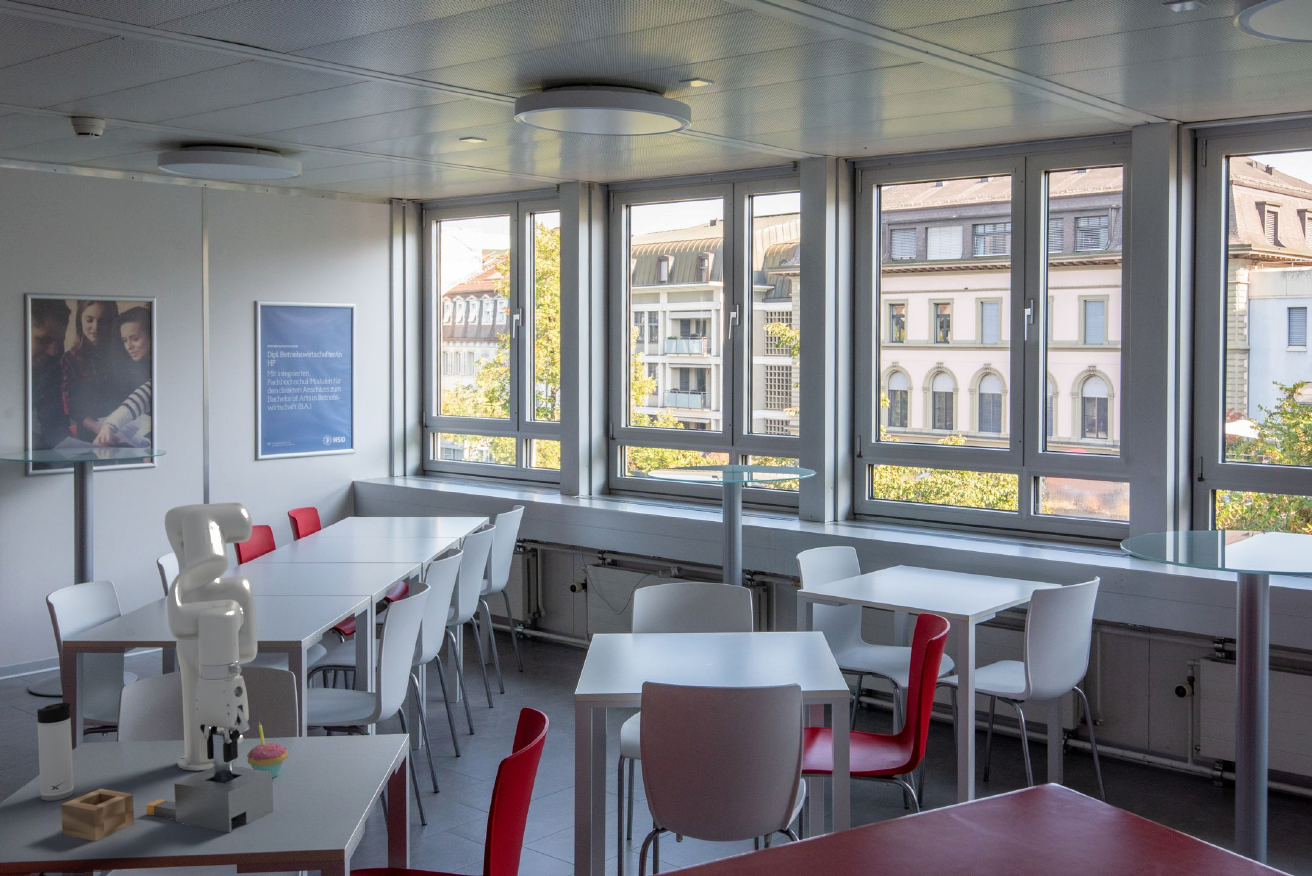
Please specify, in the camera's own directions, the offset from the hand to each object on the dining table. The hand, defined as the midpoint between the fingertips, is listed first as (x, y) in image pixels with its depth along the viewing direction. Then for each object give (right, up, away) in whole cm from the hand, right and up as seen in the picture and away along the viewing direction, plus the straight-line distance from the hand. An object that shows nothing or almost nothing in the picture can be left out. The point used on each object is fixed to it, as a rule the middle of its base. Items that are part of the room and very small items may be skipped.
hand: (222, 757), depth 226 cm
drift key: (-8, -12, 0) cm, 14 cm away
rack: (-22, -13, -5) cm, 26 cm away
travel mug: (-41, -12, +13) cm, 44 cm away
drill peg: (0, -6, 0) cm, 6 cm away
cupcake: (+1, -11, +24) cm, 26 cm away
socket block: (+1, -12, 0) cm, 12 cm away
